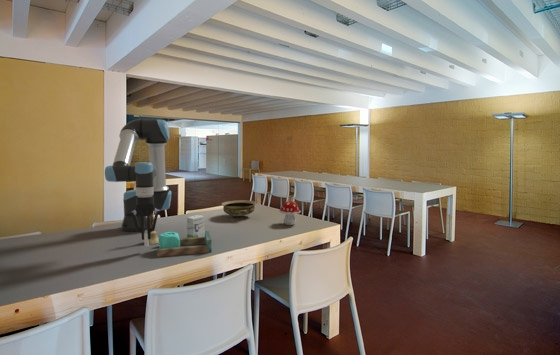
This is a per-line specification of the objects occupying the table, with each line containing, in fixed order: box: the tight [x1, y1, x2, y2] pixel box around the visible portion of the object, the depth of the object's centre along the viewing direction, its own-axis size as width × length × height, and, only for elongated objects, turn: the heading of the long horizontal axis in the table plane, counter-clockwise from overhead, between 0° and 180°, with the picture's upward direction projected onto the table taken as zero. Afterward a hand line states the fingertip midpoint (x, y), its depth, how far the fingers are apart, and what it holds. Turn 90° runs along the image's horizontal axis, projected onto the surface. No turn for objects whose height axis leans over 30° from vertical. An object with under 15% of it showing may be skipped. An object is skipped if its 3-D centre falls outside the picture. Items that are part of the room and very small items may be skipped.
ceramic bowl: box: [221, 199, 257, 219], centre depth 224 cm, size 30×24×10 cm
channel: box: [156, 230, 213, 258], centre depth 154 cm, size 24×16×6 cm, turn 107°
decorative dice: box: [158, 231, 181, 249], centre depth 152 cm, size 8×8×8 cm
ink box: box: [186, 214, 206, 238], centre depth 173 cm, size 9×5×12 cm, turn 148°
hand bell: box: [148, 212, 159, 246], centre depth 164 cm, size 8×8×16 cm
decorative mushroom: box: [278, 200, 302, 226], centre depth 205 cm, size 14×14×15 cm
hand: (146, 246), depth 149 cm, fingers closed
